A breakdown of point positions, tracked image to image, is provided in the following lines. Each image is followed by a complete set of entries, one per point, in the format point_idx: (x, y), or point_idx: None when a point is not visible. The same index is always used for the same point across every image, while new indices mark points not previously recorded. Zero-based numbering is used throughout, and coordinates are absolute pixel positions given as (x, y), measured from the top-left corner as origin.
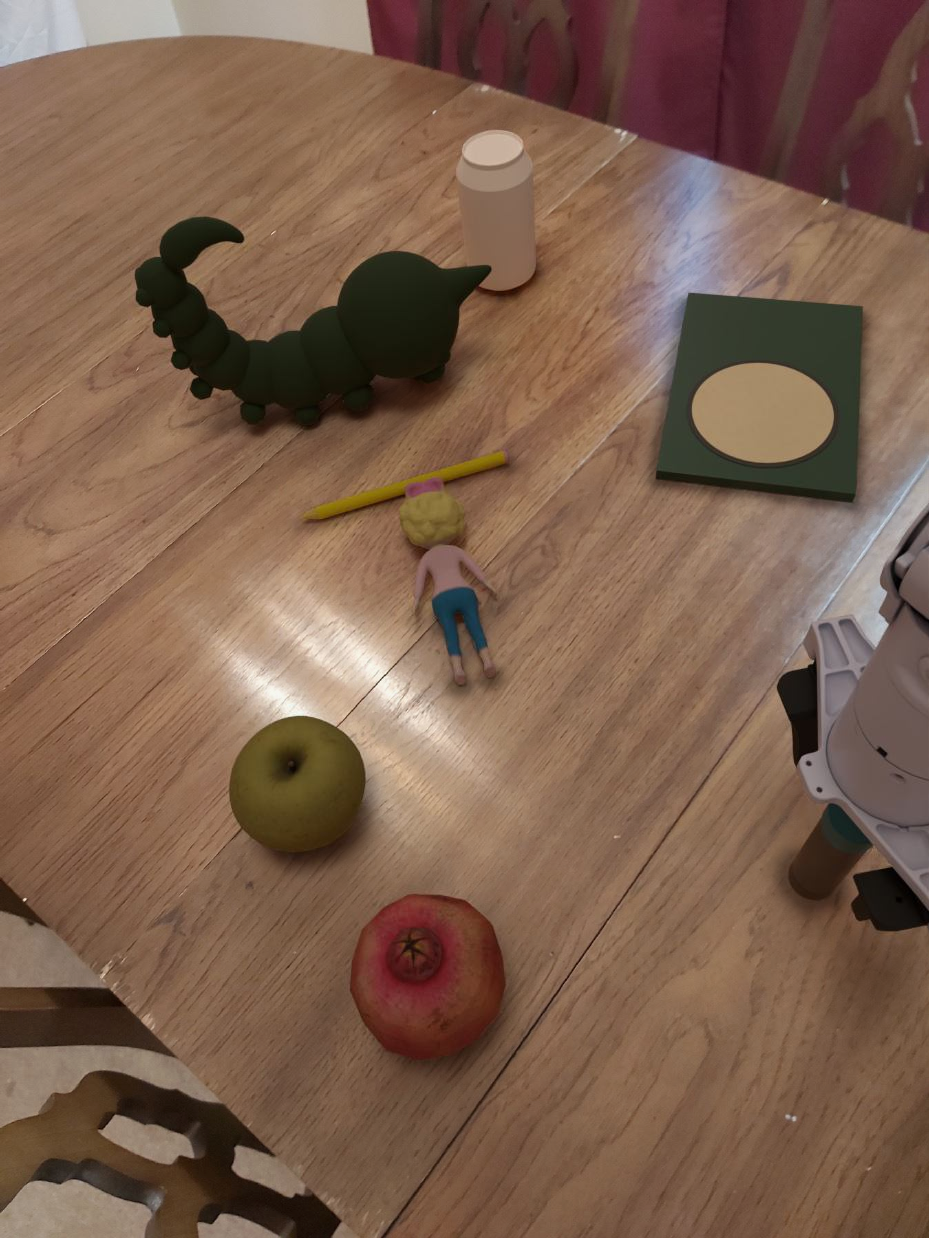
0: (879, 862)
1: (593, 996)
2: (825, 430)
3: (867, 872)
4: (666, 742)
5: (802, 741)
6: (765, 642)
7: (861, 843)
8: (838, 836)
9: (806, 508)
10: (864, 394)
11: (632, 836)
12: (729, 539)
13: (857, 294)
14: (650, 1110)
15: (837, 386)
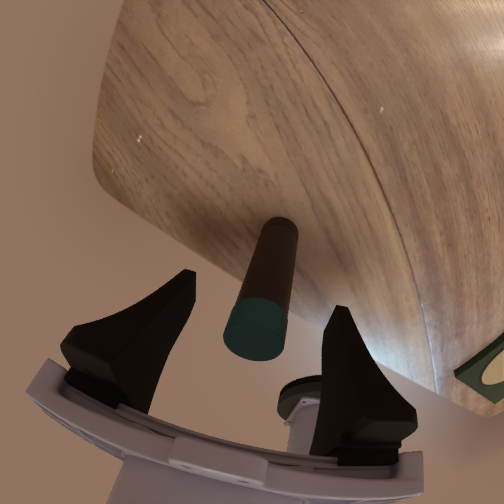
0: None
1: (254, 29)
2: (483, 379)
3: (112, 374)
4: (431, 198)
5: (347, 364)
6: (440, 301)
7: (224, 331)
8: (241, 318)
9: (470, 354)
10: None
11: (375, 122)
12: (493, 316)
13: None
14: (164, 48)
15: (488, 388)
